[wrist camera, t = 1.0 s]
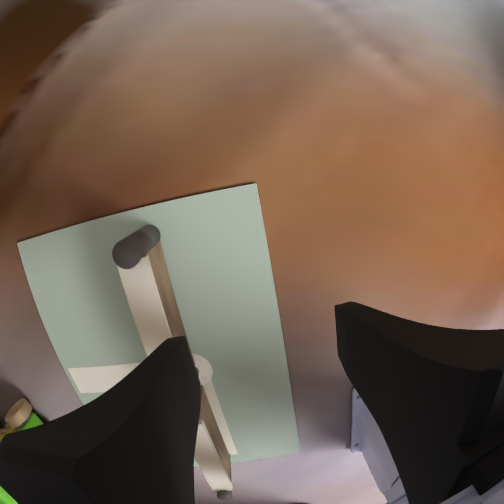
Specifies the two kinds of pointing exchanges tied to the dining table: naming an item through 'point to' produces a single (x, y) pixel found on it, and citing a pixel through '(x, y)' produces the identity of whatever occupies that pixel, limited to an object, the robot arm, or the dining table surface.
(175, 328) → the hinged fence section
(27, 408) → the toy lion
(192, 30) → the dining table surface
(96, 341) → the card
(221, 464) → the fixed fence section
